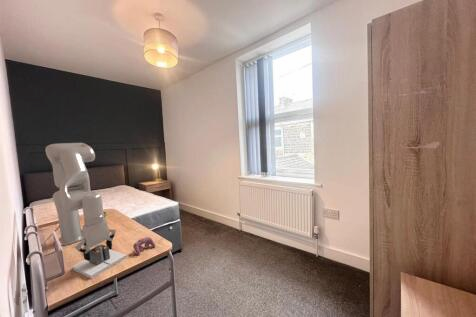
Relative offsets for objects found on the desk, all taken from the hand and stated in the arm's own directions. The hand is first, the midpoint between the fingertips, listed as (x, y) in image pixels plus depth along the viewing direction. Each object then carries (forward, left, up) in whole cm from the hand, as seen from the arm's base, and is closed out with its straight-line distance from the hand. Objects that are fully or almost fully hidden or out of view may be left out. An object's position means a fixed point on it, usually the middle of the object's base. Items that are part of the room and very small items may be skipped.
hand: (99, 254), depth 95 cm
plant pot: (-43, +23, -5) cm, 50 cm away
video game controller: (+10, +17, -5) cm, 20 cm away
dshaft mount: (0, 0, -5) cm, 5 cm away
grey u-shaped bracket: (0, 0, -3) cm, 3 cm away
